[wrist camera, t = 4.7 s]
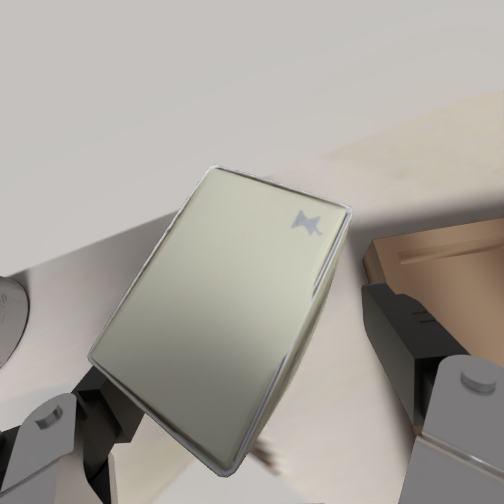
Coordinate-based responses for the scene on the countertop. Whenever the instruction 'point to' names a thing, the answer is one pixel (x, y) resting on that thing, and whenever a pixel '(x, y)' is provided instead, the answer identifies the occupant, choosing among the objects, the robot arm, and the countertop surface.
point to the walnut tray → (450, 280)
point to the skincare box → (224, 311)
